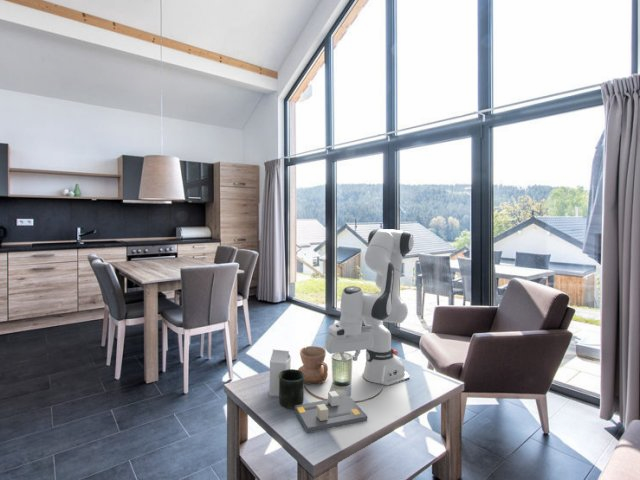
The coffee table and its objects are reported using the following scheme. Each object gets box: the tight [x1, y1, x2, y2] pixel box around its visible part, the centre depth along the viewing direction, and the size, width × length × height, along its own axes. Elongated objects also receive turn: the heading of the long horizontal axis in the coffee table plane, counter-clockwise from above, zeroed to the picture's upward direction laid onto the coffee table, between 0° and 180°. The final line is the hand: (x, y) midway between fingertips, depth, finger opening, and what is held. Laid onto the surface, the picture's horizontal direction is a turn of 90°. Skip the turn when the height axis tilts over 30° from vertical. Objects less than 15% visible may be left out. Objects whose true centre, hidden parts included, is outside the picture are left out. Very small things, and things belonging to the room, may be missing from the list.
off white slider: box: [327, 390, 340, 406], centre depth 151 cm, size 3×4×4 cm
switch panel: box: [293, 395, 368, 434], centre depth 146 cm, size 24×16×2 cm, turn 111°
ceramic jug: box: [297, 345, 329, 385], centre depth 175 cm, size 18×14×14 cm
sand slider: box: [316, 404, 328, 421], centre depth 140 cm, size 3×4×4 cm
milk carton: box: [268, 348, 292, 398], centre depth 162 cm, size 7×7×19 cm
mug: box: [278, 368, 305, 410], centre depth 156 cm, size 11×15×12 cm
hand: (349, 361), depth 152 cm, fingers open, 3 cm apart
